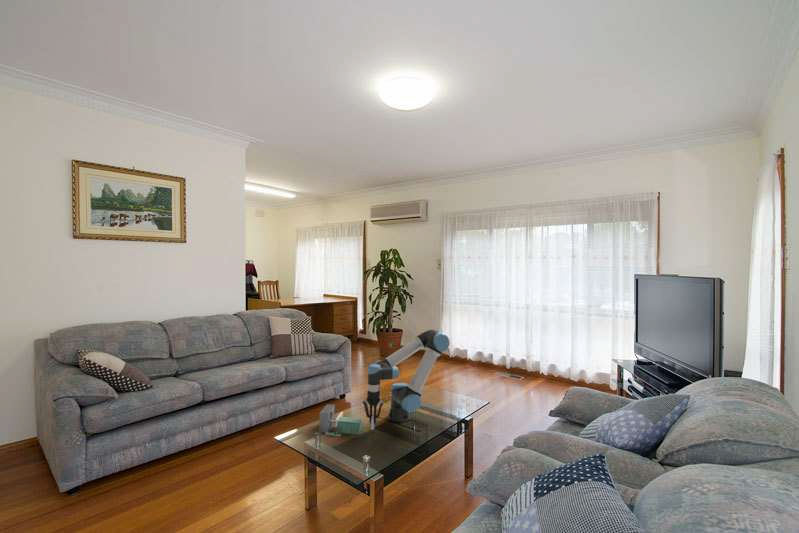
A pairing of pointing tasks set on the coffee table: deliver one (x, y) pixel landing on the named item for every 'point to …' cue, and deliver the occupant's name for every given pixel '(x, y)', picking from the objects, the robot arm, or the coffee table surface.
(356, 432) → the box
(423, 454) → the coffee table surface
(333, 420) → the plunger
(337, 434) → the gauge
